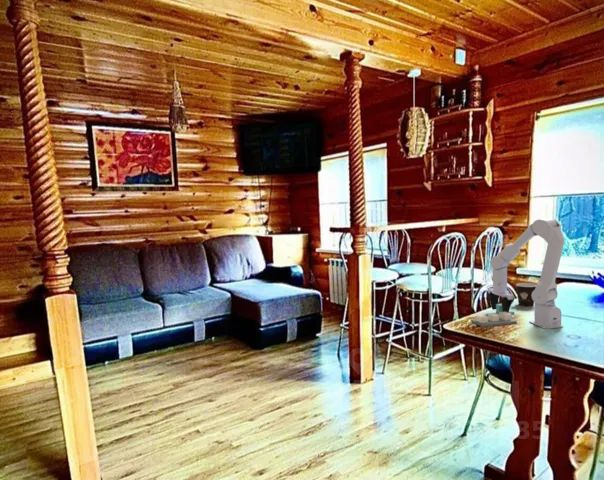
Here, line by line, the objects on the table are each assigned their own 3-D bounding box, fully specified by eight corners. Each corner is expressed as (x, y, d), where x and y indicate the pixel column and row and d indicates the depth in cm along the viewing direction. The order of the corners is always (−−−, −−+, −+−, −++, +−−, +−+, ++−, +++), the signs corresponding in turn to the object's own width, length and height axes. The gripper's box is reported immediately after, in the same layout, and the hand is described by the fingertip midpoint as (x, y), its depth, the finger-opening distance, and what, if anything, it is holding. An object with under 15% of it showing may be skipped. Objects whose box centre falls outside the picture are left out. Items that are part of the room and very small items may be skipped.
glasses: (510, 312, 183) (510, 302, 182) (515, 314, 179) (515, 304, 179) (484, 315, 181) (484, 305, 180) (489, 317, 177) (489, 307, 177)
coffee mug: (512, 304, 196) (512, 284, 195) (524, 301, 199) (524, 282, 198) (533, 309, 185) (533, 288, 184) (546, 307, 188) (546, 286, 187)
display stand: (504, 317, 176) (504, 310, 175) (516, 323, 168) (516, 315, 168) (471, 321, 173) (471, 313, 173) (482, 327, 165) (482, 318, 165)
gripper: (519, 284, 172) (519, 314, 173) (497, 278, 186) (497, 306, 187) (504, 285, 171) (504, 316, 172) (483, 279, 185) (484, 308, 186)
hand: (500, 311), depth 180 cm, fingers open, 7 cm apart
